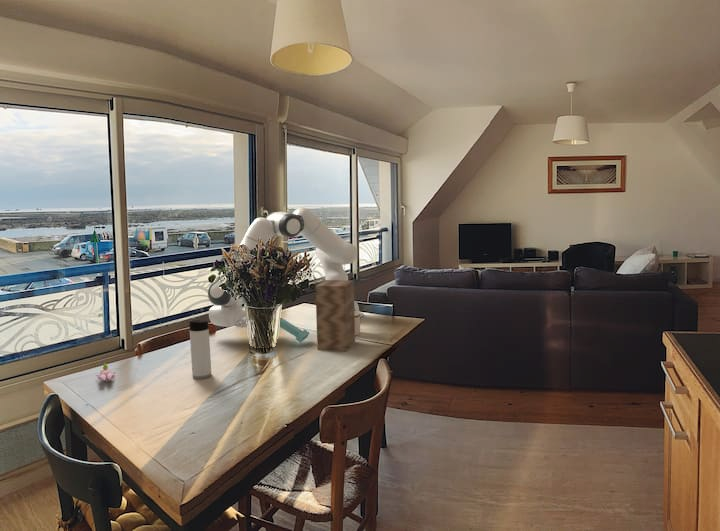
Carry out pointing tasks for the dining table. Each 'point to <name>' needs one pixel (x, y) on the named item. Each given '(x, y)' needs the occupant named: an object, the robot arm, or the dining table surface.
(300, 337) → the t bar
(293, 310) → the dining table surface
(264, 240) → the robot arm
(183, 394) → the dining table surface
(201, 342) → the travel mug
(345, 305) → the stand
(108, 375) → the pink flower
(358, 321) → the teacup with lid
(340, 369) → the dining table surface
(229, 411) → the dining table surface
